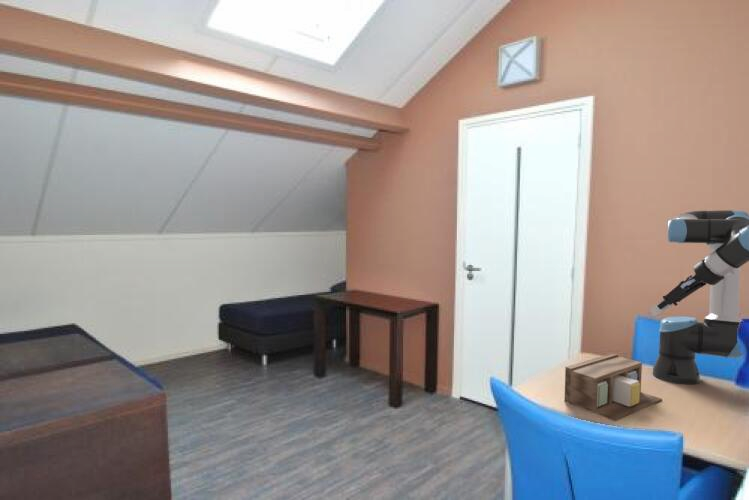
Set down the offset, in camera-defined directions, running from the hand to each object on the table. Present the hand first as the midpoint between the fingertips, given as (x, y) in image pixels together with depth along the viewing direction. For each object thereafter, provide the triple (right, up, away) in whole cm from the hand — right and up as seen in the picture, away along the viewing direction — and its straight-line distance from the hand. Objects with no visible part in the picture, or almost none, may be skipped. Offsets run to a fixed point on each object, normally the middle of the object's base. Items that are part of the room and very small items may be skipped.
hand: (653, 312), depth 151 cm
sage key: (-21, -29, -1) cm, 36 cm away
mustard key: (-10, -29, -1) cm, 31 cm away
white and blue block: (-6, -29, +8) cm, 30 cm away
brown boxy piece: (-12, -30, +1) cm, 32 cm away
